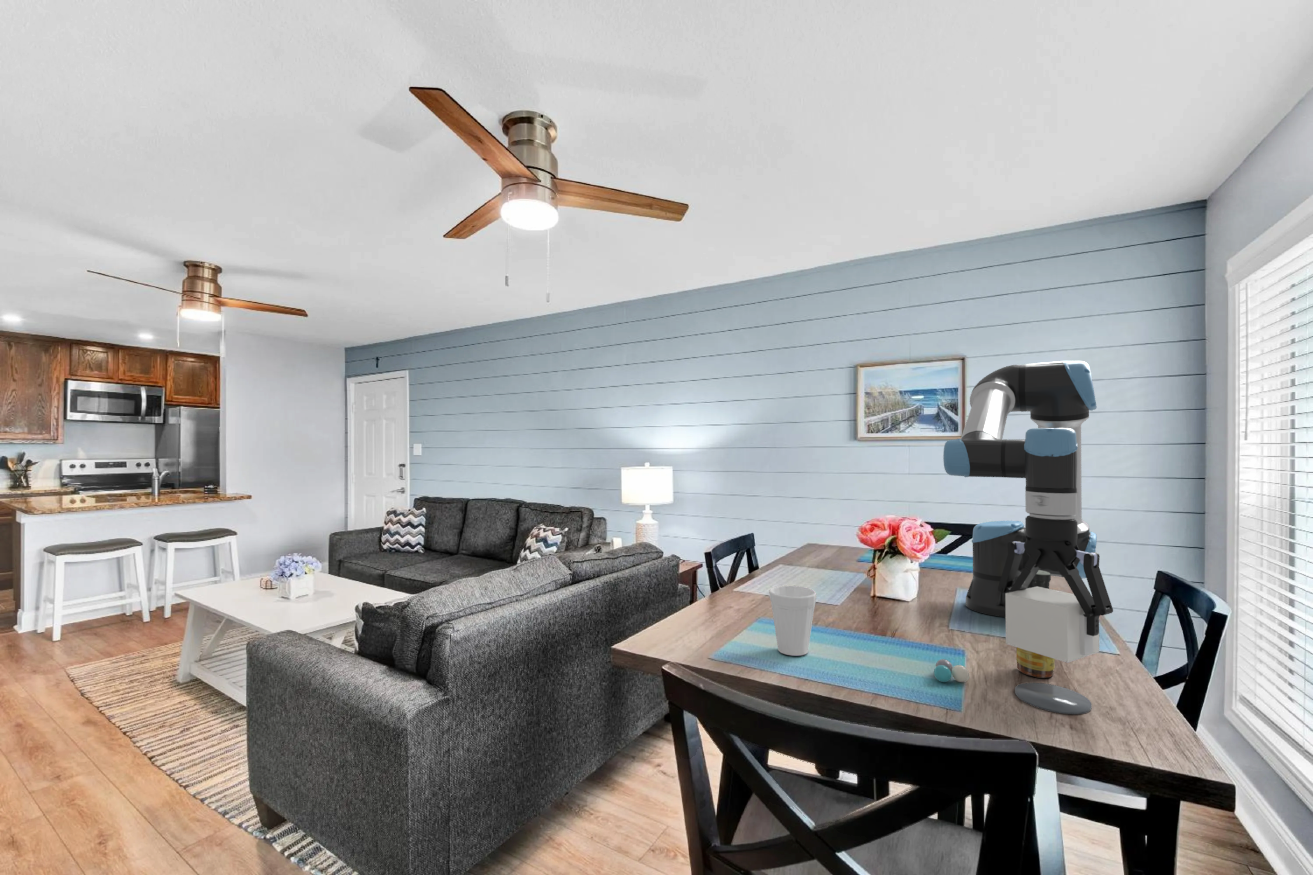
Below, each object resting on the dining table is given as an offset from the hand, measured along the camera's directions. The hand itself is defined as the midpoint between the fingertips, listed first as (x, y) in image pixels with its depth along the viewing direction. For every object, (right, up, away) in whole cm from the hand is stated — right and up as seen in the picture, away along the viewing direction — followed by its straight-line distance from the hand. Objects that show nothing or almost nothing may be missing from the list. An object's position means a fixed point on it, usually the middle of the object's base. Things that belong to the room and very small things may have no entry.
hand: (1051, 643), depth 101 cm
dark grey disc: (0, -10, 0) cm, 10 cm away
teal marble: (-15, -10, +8) cm, 20 cm away
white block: (0, -1, 0) cm, 1 cm away
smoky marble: (-14, -10, +11) cm, 20 cm away
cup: (-40, -10, +23) cm, 47 cm away
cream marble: (-12, -10, +8) cm, 17 cm away
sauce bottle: (+5, -10, +11) cm, 16 cm away
